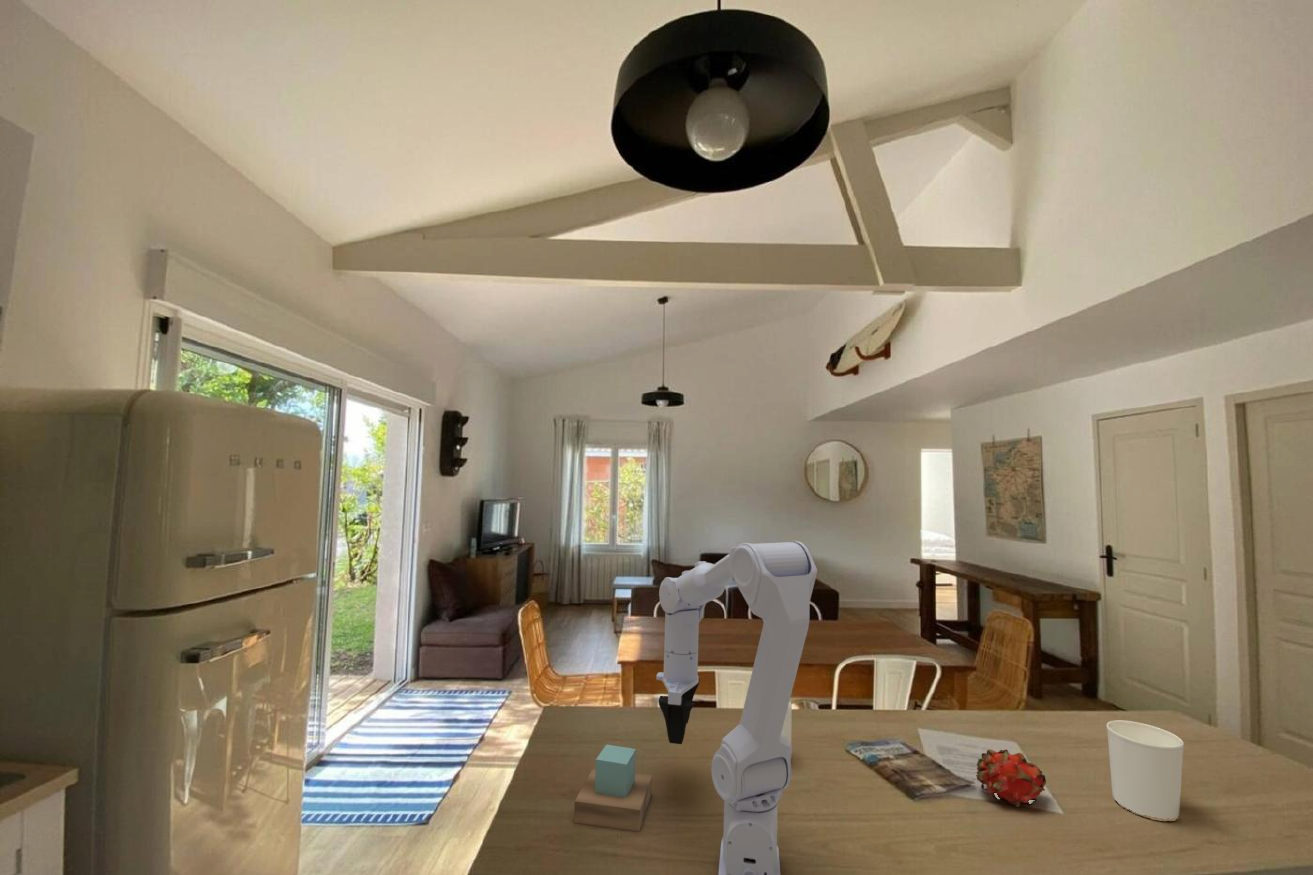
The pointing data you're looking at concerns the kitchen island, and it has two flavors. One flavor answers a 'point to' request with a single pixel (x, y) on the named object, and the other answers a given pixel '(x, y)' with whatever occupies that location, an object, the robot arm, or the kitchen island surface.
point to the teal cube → (615, 771)
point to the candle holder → (1145, 768)
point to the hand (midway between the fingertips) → (679, 732)
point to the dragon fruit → (1010, 776)
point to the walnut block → (613, 805)
